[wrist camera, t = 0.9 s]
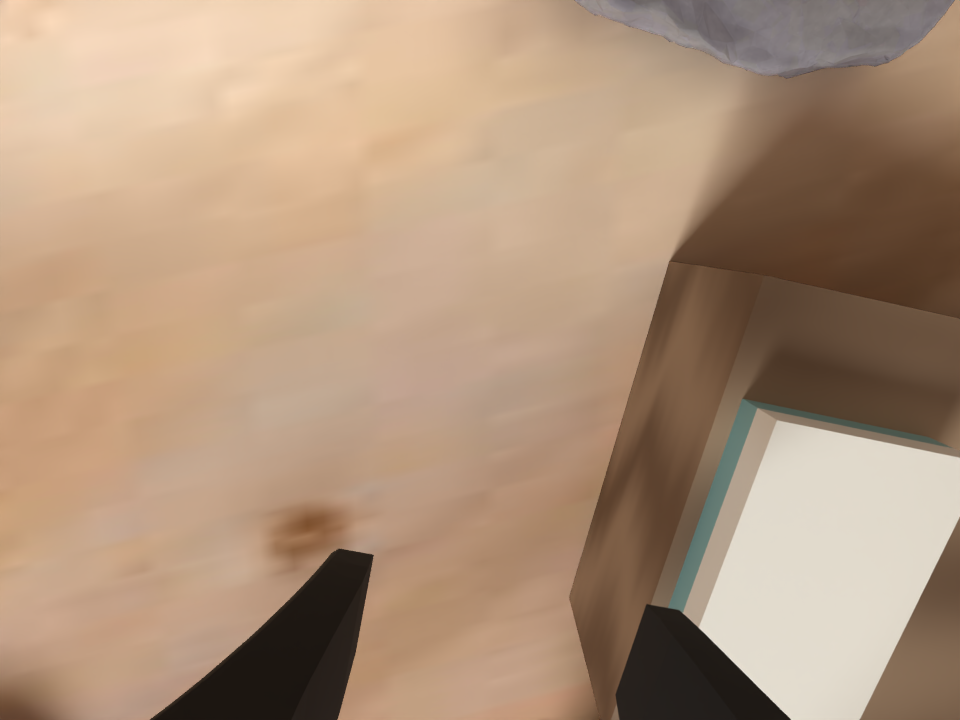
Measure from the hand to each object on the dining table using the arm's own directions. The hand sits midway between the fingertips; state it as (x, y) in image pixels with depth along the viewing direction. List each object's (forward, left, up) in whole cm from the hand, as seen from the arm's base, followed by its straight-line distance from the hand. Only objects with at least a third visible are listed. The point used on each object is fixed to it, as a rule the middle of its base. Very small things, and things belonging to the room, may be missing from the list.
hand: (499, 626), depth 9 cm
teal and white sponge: (0, -8, -4) cm, 9 cm away
